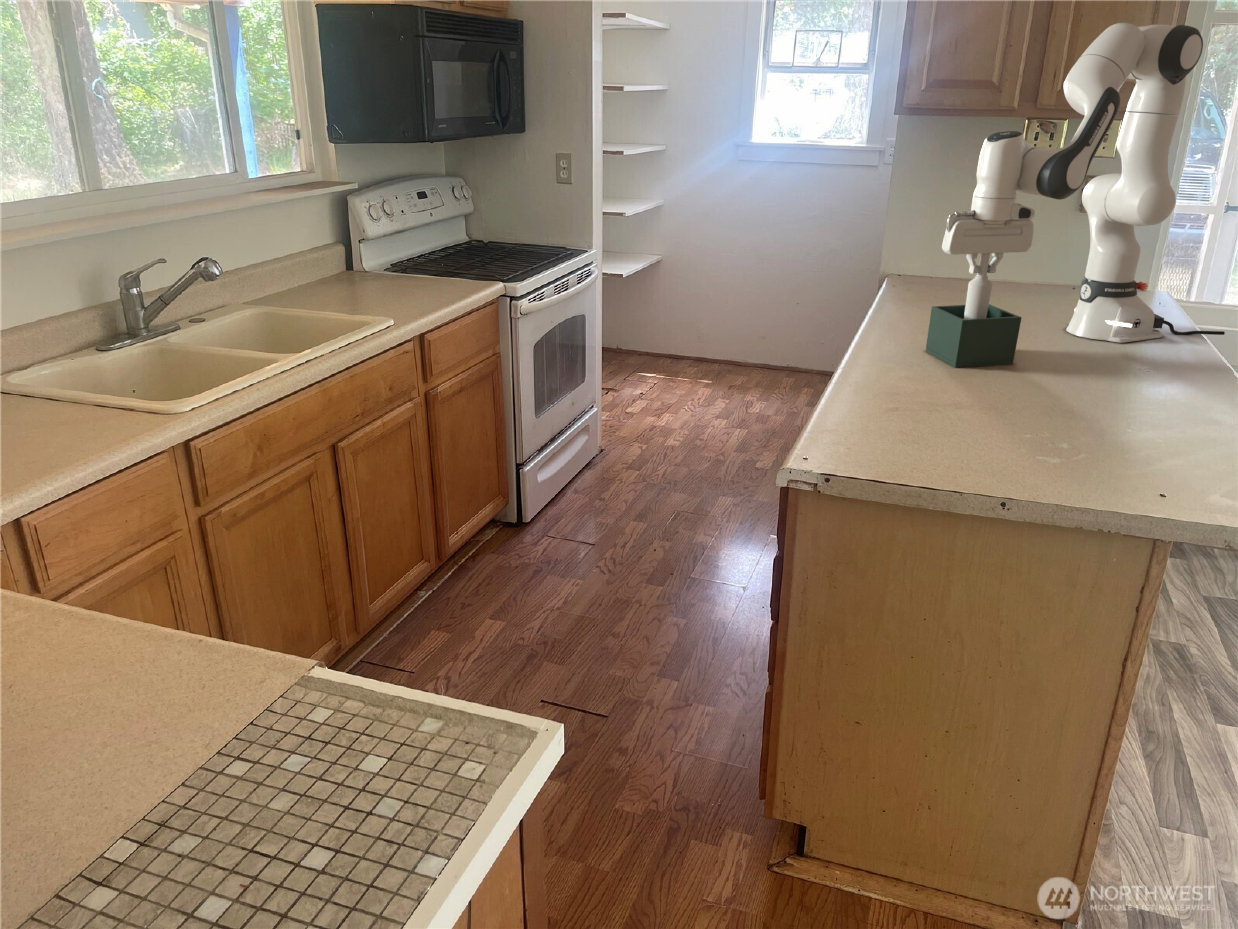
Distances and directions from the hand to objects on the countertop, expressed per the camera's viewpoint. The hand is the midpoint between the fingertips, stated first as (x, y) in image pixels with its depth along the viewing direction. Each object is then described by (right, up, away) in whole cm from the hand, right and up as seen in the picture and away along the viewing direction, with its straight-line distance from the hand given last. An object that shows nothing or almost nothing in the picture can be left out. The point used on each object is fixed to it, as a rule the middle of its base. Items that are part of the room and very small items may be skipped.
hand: (981, 272), depth 198 cm
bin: (0, -18, +8) cm, 20 cm away
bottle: (0, -17, +8) cm, 19 cm away
